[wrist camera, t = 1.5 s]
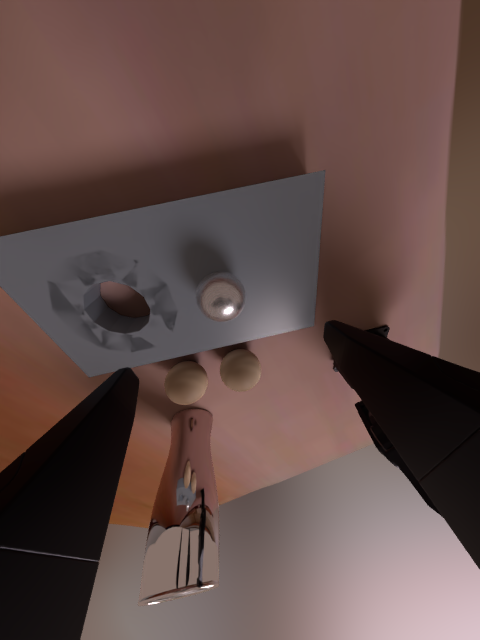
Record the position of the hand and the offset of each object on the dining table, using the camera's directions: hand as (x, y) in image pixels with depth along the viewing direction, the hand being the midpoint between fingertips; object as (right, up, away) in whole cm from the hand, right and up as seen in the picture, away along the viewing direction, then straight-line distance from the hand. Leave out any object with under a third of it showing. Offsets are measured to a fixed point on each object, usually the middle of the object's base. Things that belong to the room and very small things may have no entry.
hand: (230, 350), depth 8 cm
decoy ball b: (-5, -5, +12) cm, 14 cm away
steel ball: (-1, +3, +5) cm, 6 cm away
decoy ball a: (0, -4, +12) cm, 12 cm away
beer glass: (-7, -14, +20) cm, 25 cm away
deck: (-4, +5, +8) cm, 10 cm away
